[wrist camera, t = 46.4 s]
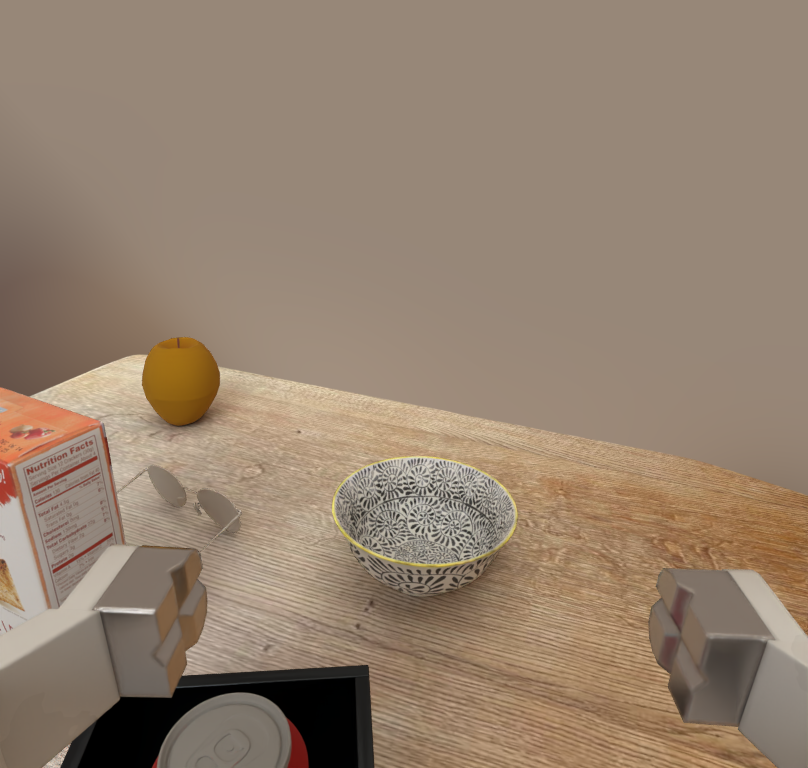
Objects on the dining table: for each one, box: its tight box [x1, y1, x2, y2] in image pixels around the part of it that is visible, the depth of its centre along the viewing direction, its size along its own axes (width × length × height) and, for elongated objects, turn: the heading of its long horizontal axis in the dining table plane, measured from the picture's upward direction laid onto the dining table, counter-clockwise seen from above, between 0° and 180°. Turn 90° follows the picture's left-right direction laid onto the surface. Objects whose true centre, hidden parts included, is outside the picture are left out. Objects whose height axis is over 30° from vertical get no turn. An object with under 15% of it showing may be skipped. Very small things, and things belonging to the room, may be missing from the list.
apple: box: [142, 337, 220, 426], centre depth 78 cm, size 10×10×12 cm
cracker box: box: [0, 387, 126, 635], centre depth 38 cm, size 14×6×21 cm, turn 63°
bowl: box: [332, 456, 518, 597], centre depth 52 cm, size 16×16×8 cm
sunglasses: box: [117, 465, 242, 552], centre depth 56 cm, size 14×8×5 cm, turn 59°
